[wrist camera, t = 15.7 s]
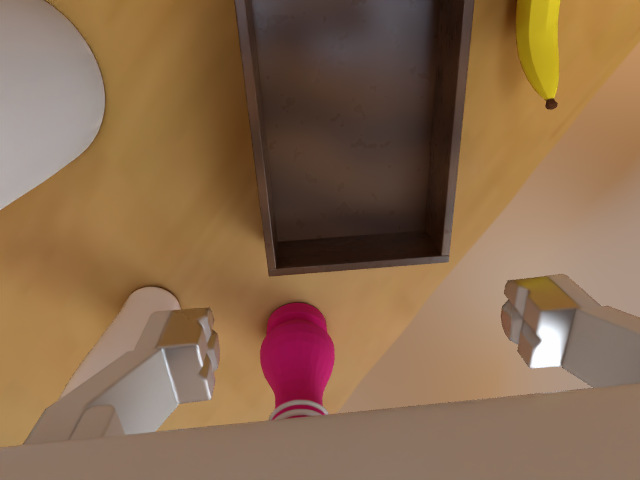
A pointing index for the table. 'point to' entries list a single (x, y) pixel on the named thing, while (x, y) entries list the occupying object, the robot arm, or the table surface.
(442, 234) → the tray
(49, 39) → the utensil holder
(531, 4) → the banana
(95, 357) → the drinking glass
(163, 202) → the table surface
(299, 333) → the pepper mill
